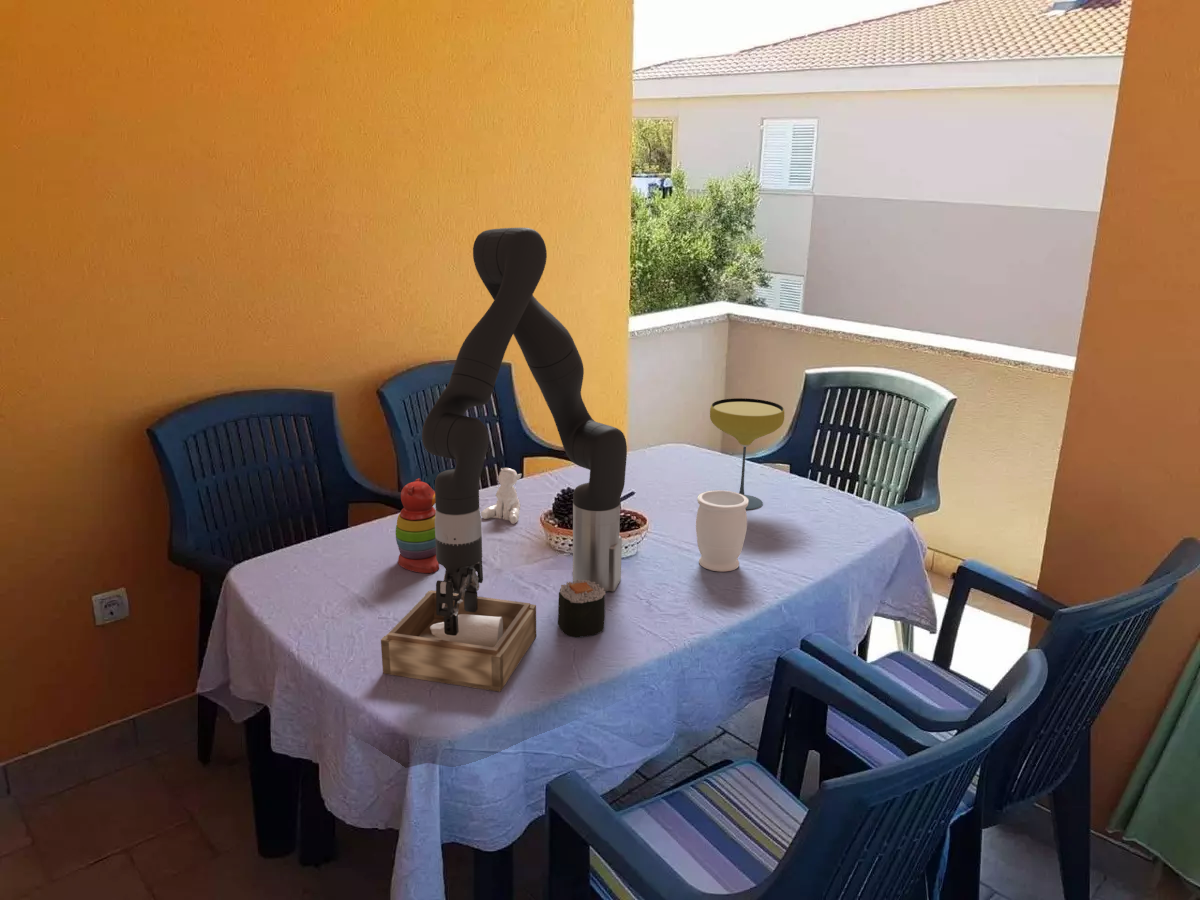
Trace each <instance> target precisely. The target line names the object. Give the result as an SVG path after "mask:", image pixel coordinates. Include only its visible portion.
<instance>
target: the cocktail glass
mask: <svg viewBox="0 0 1200 900" xmlns="http://www.w3.org/2000/svg"><path fill="white" fill-rule="evenodd" d="M709 419H710V421H711V423H712V424H713V426H715V427H716V428H717V429H719V430H721V432H724V433H725V434H727V435H730V436H731V437H733V438H734V439H736V441H737V442H738V443H739V444H740V446H742V448H743V449H742V465H741V466H742V467H741V478H740V480H741V481H740V486H739V487H740V488H739V492H738V493H739V494H742V495H744V496H746V497H747V498H748V500H749V501H748V506H747V507H746V508H745V509H746V511H752V510H757V509H759V507H760V508H761V507H762V506H763V504H764V503H763V501H762V499H760V498H758V497H756V496H753V495H750V494H745V469H746V467H745V465H746V453H747V451H746V450H747V447H749V446H750V445H751V444H752V443H753V442H755V440H757V439H759V438H761V437H764V436H767V435H769V434H772V433H774V432H776V431H777V430H778V429H780V428H781V427H782V425H783V424H784V421H785V409H784V407H783V406H782V405H780V404H778V403H776V402H773V401H770V400H763V399H759V398H745V397H744V398H742V397H738V398H734V397H733V398H725V399H721V400H716V401H714V402H712V403H711V406H710V409H709Z"/></svg>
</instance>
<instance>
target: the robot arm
mask: <svg viewBox="0 0 1200 900" xmlns="http://www.w3.org/2000/svg"><path fill="white" fill-rule="evenodd" d="M544 240H545V239H544V238H543V237H542V235H541V234H540V233H539V232H538V231H537V230H535V229H533V228H529V227H504V228H491V229H487V230H484V231H482V232H480V233H479V234H478V235H477V236H476V238H475V240H474V242H473V245H472V246H473V247H472V257H473V263H474V266H475V269H476V272H477V274H478V276H479V278H480V280H481V281H482V283H483V285H484V287H485V288H486V289H487V291H488V293H489V295H490V296H491V298H492V299H493V302H492V303H491V305H490V306H489V307H488V309H487V311H486V312H485V313H484V314H483V316H482V317H481V318H480V320H479V321H478V322H477V323H476V324H475V325H474V327H473V328H472V329H471V330H470V331H469V333H468V335H467V336H466V337H465V339H464V340H463V342H462V344H461V347H460V348H459V351H458V354H457V357H456V360H455V363H454V366H453V369H452V372H451V376H450V377H449V382H448V384H447V385H446V387H445V388H444V390H443V391H442V393H441V394H440V395H439V397H438V399H437V400H436V402H435V403H434V405H433V407H432V408H431V410H430V411H429V413H428V415H427V416H426V418H425V420H424V423H423V426H422V431H421V440H422V445H423V447H424V449H425V450H426V451H427V452H428V453H429V454H430V455H434V456H436V457H441V458H447V459H451V460H455V462H456V463H455V468H454V469H453V468H451V469H446V470H444V471H441V472H439V473H438V474H437V475H436V477H435V480H434V491H435V504H434V505H435V510H436V514H435V541H436V559H437V561H438V563H439V565H441V566H442V567H443V568H444V569H445V572H444V577H443V580H436V583H435V591H436V614H437V616H444V632H445V634H447V635H453V636H456V635H457V634H458V614H457V613H458V609H459V604H460V603H461V602H462V601H463V599H464V609H465V611H468V612H476V611H477V609H478V599H477V596H478V591H479V590H480V584H482V583H483V581H484V573H483V572H484V571H483V569H484V568H483V537H482V516H481V508H480V486H479V485H480V479H481V475H482V471H483V468H484V462H485V459H486V456H487V452H488V448H489V440H490V439H489V434H488V431H487V427H486V426H485V424H484V423H483V422H482V420H480V419H478V418H476V417H473V416H466V415H464V414H465V413H466V412H467V411H468V410H469V409H471V408H473V407H480V406H485V405H487V404H488V403H489V401H490V399H491V397H492V394H493V393H494V392H493V391H494V388H495V384H496V381H497V379H498V375H499V372H500V369H501V365H502V363H503V360H504V358H505V353H506V352H507V349H508V346H509V344H510V342H511V340H512V338H513V337H514V338H515V341H516V342H517V344H518V347H519V349H520V350H521V352H522V355H523V357H524V360H525V362H526V364H527V367H528V368H529V371H530V372H531V375H532V376H533V379H534V380H535V382H536V383H537V386H538V388H539V390H540V392H541V394H542V396H543V398H544V401H545V403H546V405H547V408H548V409H549V411H550V413H551V416H552V418H553V420H554V423H555V426H556V429H557V432H558V435H559V438H560V441H561V444H562V447H563V449H564V452H565V454H566V456H567V458H568V459H569V460H570V461H571V462H572V463H573V464H574V465H577V466H578V467H580V468H583V469H586V470H588V471H589V479H588V482H585V483H582V484H579V485H578V486H576V487H575V489H574V490H573V495H572V496H573V497H572V582H573V581H575V582H576V581H577V579H579V580H580V581H581V580H587V581H590V582H591V583H593V582H595V584H599V586H598V587H600V588H601V589H602V588H604V590H603V591H605V592H615V591H616V589H617V587H618V586H619V583H620V582H621V579H622V550H623V549H622V548H623V547H622V544H623V543H622V542H623V540H622V539H623V537H622V536H621V535H620V522H621V520H620V519H621V496H622V494H623V491H624V488H625V484H626V483H625V482H626V469H627V458H628V457H627V455H628V450H627V449H628V445H627V440H626V436H625V434H624V432H623V431H622V430H621V429H619V428H618V427H615V426H612V425H609V424H606V423H605V424H604V423H601V422H598V421H595V420H594V418H593V417H592V416H591V415H590V413H589V411H588V410H587V407H586V405H585V403H584V401H583V400H584V399H583V397H582V386H583V381H584V376H585V375H584V373H585V372H584V370H585V369H584V364H583V359H582V357H581V355H580V353H579V350H578V348H577V345H576V343H575V342H574V339H573V336H572V335H571V333H570V332H569V331H568V329H567V328H566V326H564V324H563V323H562V322H560V321H559V320H558V318H556V317H555V315H553V314H552V312H550V311H549V310H548V309H547V308H546V307H544V306H543V305H542V304H541V303H540V302H539V301H538V300H537V298H536V297H535V296H534V293H535V291H536V289H537V287H538V285H539V283H540V281H541V279H542V275H543V273H544V270H545V268H546V265H547V256H548V255H547V247H546V243H545V241H544ZM476 572H477V573H476ZM453 593H456V594H458V595H457V596H453ZM453 601H455V602H454V607H453ZM442 603H443V605H442Z"/></svg>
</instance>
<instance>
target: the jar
mask: <svg viewBox="0 0 1200 900" xmlns="http://www.w3.org/2000/svg"><path fill="white" fill-rule="evenodd" d="M744 495H745V494H744ZM744 495H742V494H739V492H735V491H731V490H721V489H720V490H717V489H716V490H715V489H714V490H708V491H704V492H700V494H698V496H697V500H696V501H697V504H698V505H699V506H698V507H697V508H698V509H697V512H696V516H695V517H696V518H695V533H696V539H697V540H696V541H697V548H698V551H699V554H700V555H701V556H700V557H699V558H698V562H699V565H700V566H701V567H702V568H704V569H707V570H709V571H714V572H721V573H723V572H731V571H734V570H736V569H738V568H739V566H740V561H739V559H738V558H739V557H740V556H741V553H742V550H743V547H744V543H745V540H746V535H747V529H748V515H747V510H746V509H745V508H746V507H747V506H748V501H749V500H748V498H747V497H746V496H744Z"/></svg>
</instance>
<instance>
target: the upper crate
mask: <svg viewBox="0 0 1200 900" xmlns="http://www.w3.org/2000/svg"><path fill="white" fill-rule="evenodd" d="M429 591H430V592H429V593H428V594H427V595H426V596H425V595H424V596H425V597H424V596H423V597H424V598H423V597H422V598H423V599H422V598H421V599H422V600H421V599H420V600H421V601H420V600H419V601H420V602H419V601H418V602H419V603H418V602H417V603H418V604H417V603H416V604H417V605H416V604H415V605H416V606H415V605H414V606H415V607H414V608H413V607H412V609H411V610H409V612H408V613H406V614H405V616H404V617H403V618H401V620H400V621H398V622H397V624H396V625H395V626H394V627H395V628H394V627H393V628H394V629H393V628H392V629H393V630H392V629H391V630H392V631H391V630H390V631H391V632H390V631H389V632H390V633H389V632H388V633H389V634H388V633H387V634H388V635H387V634H386V635H387V637H388V638H390V639H391V640H397V641H403V642H410V643H417V644H424V645H431V646H437V647H444V648H451V649H458V650H465V651H471V652H478V653H485V654H497V653H498V652H499V651H500V650H501V648H502V647H503V646H504V644H505V643H506V641H507V640H508V638H509V637H510V636H511V634H512V633H513V631H514V630H515V628H516V627H517V626H518V624H519V623H520V621H521V620H522V619H523V617H524V616H525V614H526V613H527V611H528V610H529V608H530V604H531V603H530V602H523V601H516V600H509V599H508V600H507V599H501V598H491V597H484V596H478V595H477V599H478V609H477V611H476V612H468V611H465V609H464V599H463V601H462V602H461V603H460V604H459V609H458V613H457V614H458V615H460V614H469V615H481V616H494V617H502V619H503V635H502V637H501V638H500V639H499V641H498V642H497V643H496V645H495V646H494V648H493V647H487V646H480V645H473V644H466V643H459V642H452V641H445V640H442V639H440V638H438V637H437V636H435V635H433V634H432V632H431V630H430V626H432V625H433V624H437V623H442V622H444V616H437V614H436V590H429ZM457 595H458V594H456V593H453V596H457ZM454 602H455V601H453V607H454ZM442 605H443V603H442Z"/></svg>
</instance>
